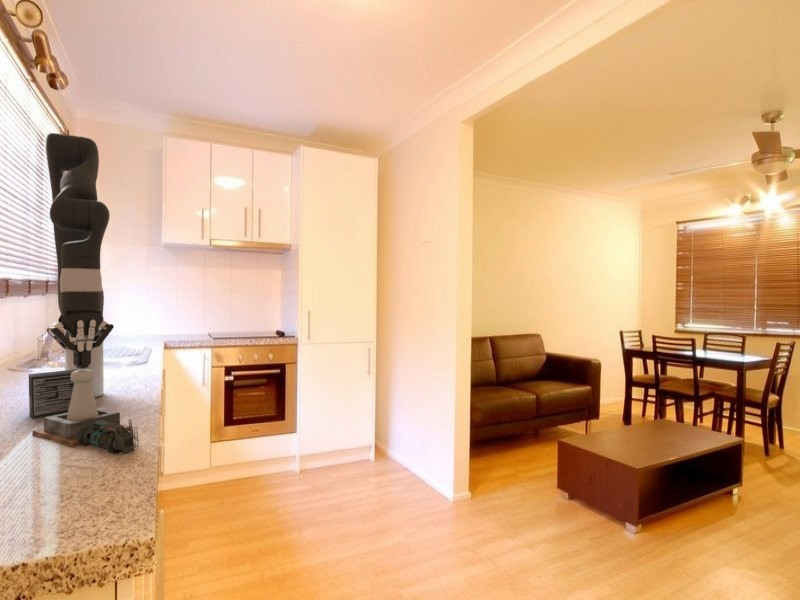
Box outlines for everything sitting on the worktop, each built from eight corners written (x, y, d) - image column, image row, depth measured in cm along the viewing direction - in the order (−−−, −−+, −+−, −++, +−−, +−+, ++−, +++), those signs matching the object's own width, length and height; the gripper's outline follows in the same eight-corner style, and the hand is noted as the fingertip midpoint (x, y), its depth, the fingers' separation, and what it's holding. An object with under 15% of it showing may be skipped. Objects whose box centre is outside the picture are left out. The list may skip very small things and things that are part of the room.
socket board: (32, 435, 97) (32, 416, 97) (91, 420, 107) (91, 404, 107) (72, 447, 89) (72, 427, 89) (131, 430, 100) (131, 413, 100)
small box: (79, 406, 121) (78, 368, 120) (83, 411, 116) (83, 371, 116) (28, 413, 113) (28, 373, 113) (31, 419, 109) (30, 376, 108)
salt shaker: (81, 433, 95) (81, 373, 95) (59, 431, 96) (59, 371, 96) (104, 425, 101) (104, 368, 100) (83, 423, 102) (83, 367, 102)
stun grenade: (76, 450, 90) (116, 462, 83) (73, 420, 89) (113, 430, 83) (108, 438, 96) (148, 449, 89) (105, 410, 95) (145, 418, 88)
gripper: (103, 289, 105) (103, 362, 106) (37, 289, 93) (38, 371, 94) (122, 289, 102) (122, 364, 102) (56, 289, 90) (57, 374, 90)
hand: (82, 367), depth 98 cm, fingers closed
